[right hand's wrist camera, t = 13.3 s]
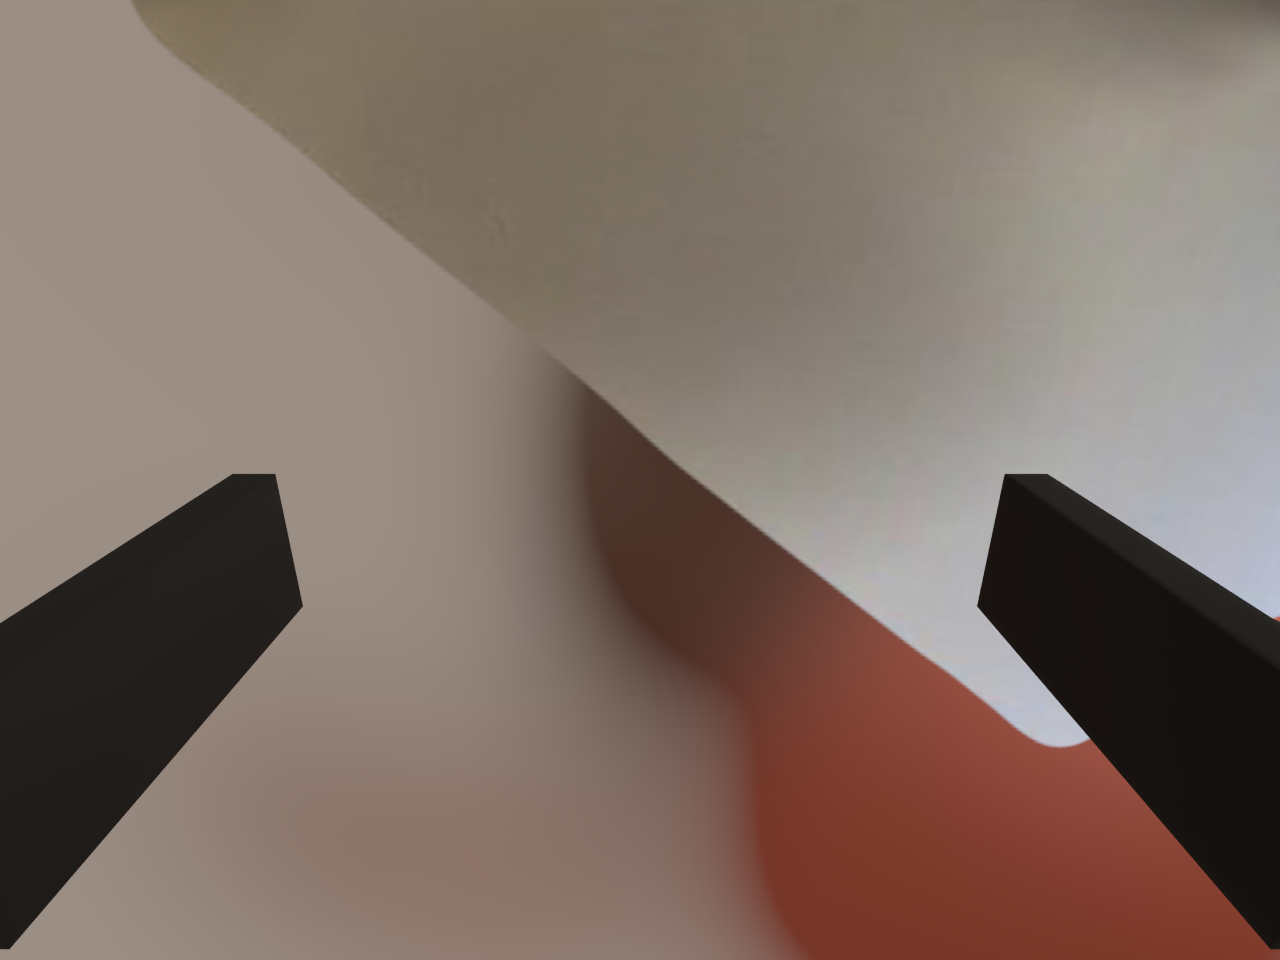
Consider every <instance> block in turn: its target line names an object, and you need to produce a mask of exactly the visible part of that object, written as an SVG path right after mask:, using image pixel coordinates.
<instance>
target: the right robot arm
mask: <svg viewBox="0 0 1280 960" xmlns="http://www.w3.org/2000/svg"><path fill="white" fill-rule="evenodd" d="M302 607H303V605H302V600H301V595H300V590H299V585H298V581H297V576H296V571H295V566H294V562H293V557H292V552H291V547H290V542H289V538H288V533H287V528H286V524H285V518H284V514H283V509H282V504H281V500H280V495H279V490H278V485H277V480H276V475H275V474H232V475H230V476H229V477H227V478H226V479H224V480H223V481H221V482H220V483H218V484H216V485H215V486H213V487H212V488H210V489H209V490H207V491H205V492H204V493H202V494H201V495H199V496H198V497H196V498H195V499H193V500H191V501H190V502H188V503H187V504H185V505H184V506H182V507H181V508H179V509H177V510H176V511H174V512H173V513H171V514H170V515H168V516H166V517H165V518H163V519H162V520H160V521H159V522H157V523H156V524H154V525H152V526H151V527H149V528H148V529H146V530H145V531H143V532H142V533H140V534H138V535H137V536H135V537H134V538H132V539H131V540H129V541H128V542H126V543H124V544H123V545H121V546H120V547H118V548H117V549H115V550H114V551H112V552H111V553H109V554H107V555H106V556H104V557H103V558H101V559H100V560H98V561H96V562H95V563H93V564H92V565H90V566H89V567H87V568H86V569H84V570H82V571H81V572H79V573H78V574H76V575H75V576H73V577H72V578H70V579H69V580H67V581H65V582H64V583H62V584H61V585H59V586H57V587H56V588H54V589H53V590H51V591H50V592H48V593H47V594H45V595H43V596H42V597H40V598H39V599H37V600H36V601H34V602H33V603H31V604H30V605H28V606H26V607H25V608H23V609H22V610H20V611H19V612H17V613H15V614H14V615H12V616H11V617H9V618H8V619H6V620H5V621H3V622H1V623H0V949H10V948H11V947H12V946H13V944H14V943H15V942H16V941H17V940H18V939H19V937H20V936H21V935H22V934H23V933H24V932H25V930H26V929H27V928H28V927H29V926H30V924H31V923H32V922H33V921H34V920H35V919H36V918H37V916H38V915H39V914H40V913H41V912H42V911H43V909H44V908H45V907H46V906H47V905H48V904H49V902H50V901H51V900H52V899H53V898H54V897H55V895H56V894H57V893H58V892H59V891H60V889H61V888H62V887H63V886H64V885H65V884H66V882H67V881H68V880H69V879H70V878H71V877H72V875H73V874H74V873H75V872H76V871H77V870H78V868H79V867H80V866H81V865H82V864H83V863H84V861H85V860H86V859H87V858H88V857H89V856H90V854H91V853H92V852H93V851H94V850H95V849H96V847H97V846H98V845H99V844H100V843H101V842H102V840H103V839H104V838H105V837H106V836H107V835H108V833H109V832H110V831H111V830H112V829H113V828H114V826H115V825H116V824H117V823H118V822H119V821H120V819H121V818H122V817H123V816H124V815H125V814H126V812H127V811H128V810H129V809H130V808H131V807H132V805H133V804H134V803H135V802H136V801H137V799H138V798H139V797H140V796H141V795H142V794H143V793H144V791H145V790H146V789H147V788H148V787H149V786H150V784H151V783H152V782H153V781H154V780H155V778H156V777H157V776H158V775H159V774H160V773H161V771H162V770H163V769H164V768H165V767H166V766H167V764H168V763H169V762H170V761H171V760H172V759H173V757H174V756H175V755H176V754H177V753H178V752H179V750H180V749H181V748H182V747H183V746H184V745H185V743H186V742H187V741H188V740H189V739H190V738H191V736H192V735H193V734H194V733H195V732H196V731H197V729H198V728H199V727H200V726H201V725H202V724H203V722H204V721H205V720H206V719H207V718H208V717H209V715H210V714H211V713H212V712H213V711H214V710H215V708H216V707H217V706H218V705H219V704H220V703H221V701H222V700H223V699H224V698H225V697H226V696H227V694H228V693H229V692H230V691H231V690H232V689H233V687H234V686H235V685H236V684H237V683H238V682H239V680H240V679H241V678H242V677H243V676H244V675H245V673H246V672H247V671H248V670H249V669H250V668H251V666H252V665H253V664H254V663H255V662H256V660H257V659H258V658H259V657H260V656H261V655H262V653H263V652H264V651H265V650H266V649H267V648H268V646H269V645H270V644H271V643H272V642H273V641H274V639H275V638H276V637H277V636H278V635H279V634H280V632H281V631H282V630H283V629H284V628H285V627H286V625H287V624H288V623H289V622H290V621H291V620H292V618H293V617H294V616H295V615H296V614H297V613H298V611H299V610H300V609H301V608H302ZM977 607H978V608H979V609H980V610H981V611H982V613H983V614H984V615H985V616H986V617H987V618H988V620H989V621H990V622H991V623H992V624H993V625H994V627H995V628H996V629H997V630H998V631H999V632H1000V634H1001V635H1002V636H1003V637H1004V638H1005V639H1006V641H1007V642H1008V643H1009V644H1010V645H1011V646H1012V648H1013V649H1014V650H1015V651H1016V652H1017V654H1018V655H1019V656H1020V657H1021V658H1022V659H1023V661H1024V662H1025V663H1026V664H1027V665H1028V666H1029V668H1030V669H1031V670H1032V671H1033V672H1034V673H1035V675H1036V676H1037V677H1038V678H1039V679H1040V680H1041V682H1042V683H1043V684H1044V685H1045V686H1046V687H1047V689H1048V690H1049V691H1050V692H1051V693H1052V694H1053V696H1054V697H1055V698H1056V699H1057V700H1058V701H1059V703H1060V704H1061V705H1062V706H1063V707H1064V708H1065V710H1066V711H1067V712H1068V713H1069V714H1070V715H1071V717H1072V718H1073V719H1074V720H1075V721H1076V722H1077V724H1078V725H1079V726H1080V727H1081V728H1082V729H1083V731H1084V732H1085V733H1086V734H1087V735H1088V736H1089V738H1090V739H1091V740H1092V741H1093V742H1094V743H1095V745H1096V746H1097V747H1098V748H1099V749H1100V750H1101V752H1102V753H1103V754H1104V755H1105V756H1106V757H1107V759H1108V760H1109V761H1110V762H1111V763H1112V764H1113V766H1114V767H1115V768H1116V769H1117V770H1118V771H1119V773H1120V774H1121V775H1122V776H1123V777H1124V778H1125V780H1126V781H1127V782H1128V783H1129V784H1130V786H1131V787H1132V788H1133V789H1134V790H1135V791H1136V792H1137V794H1138V795H1139V796H1140V797H1141V798H1142V800H1143V801H1144V802H1145V803H1146V804H1147V805H1148V807H1149V808H1150V809H1151V810H1152V811H1153V812H1154V814H1155V815H1156V816H1157V817H1158V818H1159V819H1160V821H1161V822H1162V823H1163V824H1164V825H1165V826H1166V828H1167V829H1168V830H1169V831H1170V832H1171V833H1172V835H1173V836H1174V837H1175V838H1176V839H1177V840H1178V842H1179V843H1180V844H1181V845H1182V846H1183V847H1184V849H1185V850H1186V851H1187V852H1188V853H1189V854H1190V856H1191V857H1192V858H1193V859H1194V860H1195V861H1196V863H1197V864H1198V865H1199V866H1200V867H1201V868H1202V870H1203V871H1204V872H1205V873H1206V874H1207V875H1208V877H1209V878H1210V879H1211V880H1212V881H1213V882H1214V884H1215V885H1216V886H1217V887H1218V888H1219V889H1220V891H1221V892H1222V893H1223V894H1224V895H1225V897H1226V898H1227V899H1228V900H1229V901H1230V902H1231V904H1232V905H1233V906H1234V907H1235V908H1236V909H1237V911H1238V912H1239V913H1240V914H1241V915H1242V916H1243V918H1244V919H1245V920H1246V921H1247V922H1248V923H1249V925H1250V926H1251V927H1252V928H1253V929H1254V930H1255V932H1256V933H1257V934H1258V935H1259V936H1260V937H1261V939H1262V940H1263V941H1264V942H1265V943H1266V944H1267V946H1268V947H1269V948H1270V949H1280V622H1279V621H1277V620H1275V619H1272V618H1271V617H1269V616H1268V615H1266V614H1265V613H1263V612H1261V611H1260V610H1258V609H1257V608H1255V607H1254V606H1252V605H1251V604H1249V603H1247V602H1246V601H1244V600H1243V599H1241V598H1240V597H1238V596H1237V595H1235V594H1233V593H1232V592H1230V591H1229V590H1227V589H1226V588H1224V587H1223V586H1221V585H1219V584H1218V583H1216V582H1215V581H1213V580H1212V579H1210V578H1209V577H1207V576H1205V575H1204V574H1202V573H1201V572H1199V571H1198V570H1196V569H1194V568H1193V567H1191V566H1190V565H1188V564H1187V563H1185V562H1184V561H1182V560H1180V559H1179V558H1177V557H1176V556H1174V555H1173V554H1171V553H1170V552H1168V551H1166V550H1165V549H1163V548H1162V547H1160V546H1159V545H1157V544H1156V543H1154V542H1152V541H1151V540H1149V539H1148V538H1146V537H1145V536H1143V535H1142V534H1140V533H1138V532H1137V531H1135V530H1134V529H1132V528H1131V527H1129V526H1128V525H1126V524H1124V523H1123V522H1121V521H1120V520H1118V519H1117V518H1115V517H1114V516H1112V515H1110V514H1109V513H1107V512H1106V511H1104V510H1103V509H1101V508H1099V507H1098V506H1096V505H1095V504H1093V503H1092V502H1090V501H1089V500H1087V499H1085V498H1084V497H1082V496H1081V495H1079V494H1078V493H1076V492H1075V491H1073V490H1071V489H1070V488H1068V487H1067V486H1065V485H1064V484H1062V483H1061V482H1059V481H1057V480H1056V479H1054V478H1053V477H1051V476H1050V475H1048V474H1005V475H1004V480H1003V485H1002V490H1001V495H1000V499H999V504H998V509H997V514H996V518H995V523H994V528H993V533H992V538H991V542H990V547H989V552H988V557H987V561H986V566H985V571H984V576H983V581H982V585H981V590H980V595H979V600H978V605H977Z"/></svg>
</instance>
